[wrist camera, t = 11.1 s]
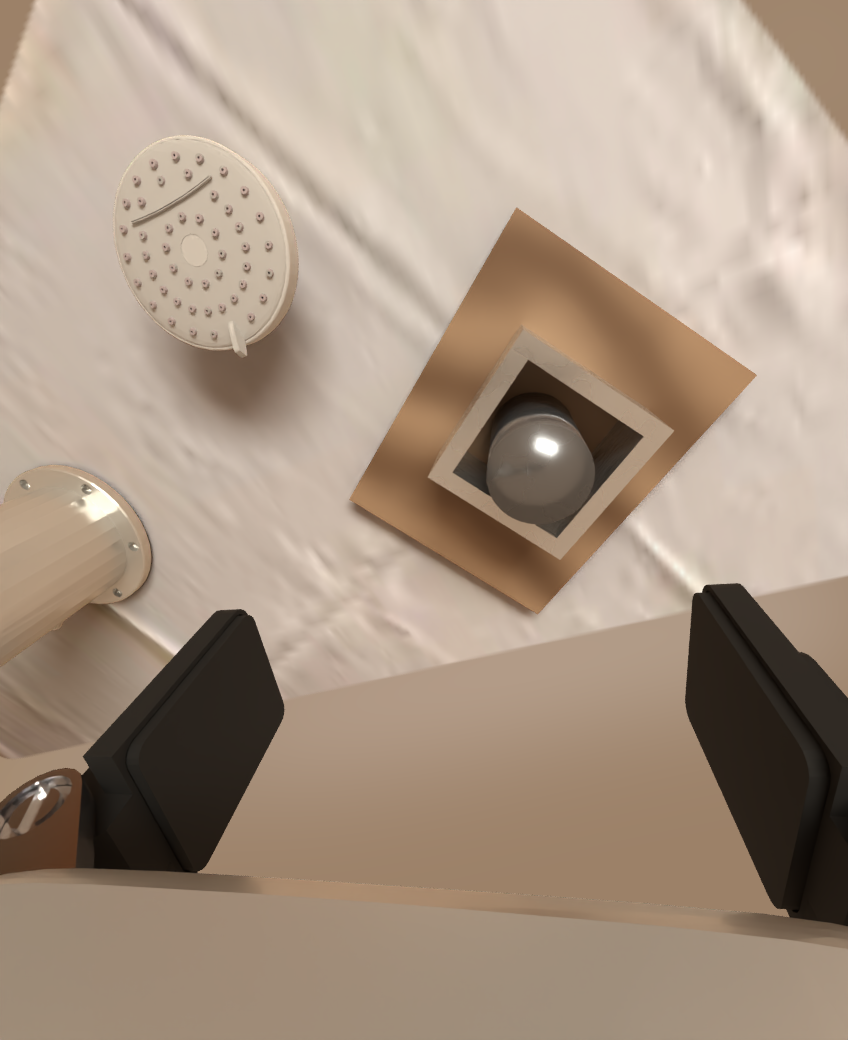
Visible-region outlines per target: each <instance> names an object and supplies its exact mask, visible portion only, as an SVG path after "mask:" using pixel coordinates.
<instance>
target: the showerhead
mask: <svg viewBox="0 0 848 1040" xmlns="http://www.w3.org/2000/svg"><path fill="white" fill-rule="evenodd" d="M113 232H114V242H115V248H116V252H117V256H118V260H119V264H120V267H121V269H122V272H123V274H124V277H125V279H126V281H127V284H128V286H129V288H130V289H131V291H132V293H133V294H134V296H135V298H136V299H137V301H138V302H139V304H140V305H141V306H142V308H143V309H144V310H145V311H146V313H147V314H148V315H149V316H150V317H151V318H152V319H153V320H154V321H155V322H156V323H157V324H158V325H159V326H160V327H161V328H162V329H164V330H165V331H166V332H168V333H169V334H170V335H172V336H173V337H175V338H177V339H179V340H180V341H182V342H184V343H187V344H189V345H191V346H194V347H198V348H201V349H206V350H215V351H223V350H231V349H234V351H235V353H236V354H237V355H239V356H240V357H241V358H243V357H246V356H247V349H246V346H247V345H250V344H253V343H255V342H257V341H259V340H261V339H263V338H264V337H265V336H267V335H268V334H269V333H271V332H272V331H273V330H274V329H275V328H276V327H277V326H278V325H279V324H280V322H281V321H282V320H283V318H284V317H285V315H286V313H287V311H288V310H289V307H290V305H291V303H292V300H293V297H294V294H295V290H296V285H297V279H298V267H299V263H298V249H297V242H296V237H295V233H294V229H293V226H292V223H291V220H290V217H289V214H288V212H287V210H286V208H285V206H284V204H283V202H282V200H281V198H280V197H279V195H278V193H277V192H276V190H275V189H274V187H273V186H272V185H271V183H270V182H269V181H268V180H267V178H266V177H265V176H264V175H263V174H262V173H261V172H260V171H259V170H258V169H257V168H256V167H255V166H253V165H252V164H251V163H250V162H248V161H247V160H246V159H244V158H243V157H241V156H240V155H238V154H236V153H235V152H233V151H231V150H230V149H228V148H226V147H224V146H223V145H221V144H219V143H216V142H214V141H212V140H209V139H205V138H202V137H197V136H187V135H181V136H172V137H168V138H164V139H162V140H159V141H157V142H155V143H153V144H151V145H149V146H148V147H147V148H145V149H144V150H142V151H141V152H140V153H139V154H138V155H137V156H136V157H135V158H134V160H133V161H132V162H131V163H130V165H129V166H128V168H127V170H126V171H125V173H124V175H123V177H122V179H121V182H120V184H119V187H118V190H117V193H116V198H115V204H114V211H113Z"/></svg>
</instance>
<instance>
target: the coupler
mask: <svg viewBox="0 0 848 1040" xmlns="http://www.w3.org/2000/svg"><path fill="white" fill-rule="evenodd" d="M594 479H595V465H594V460H593V457H592V454H591V452H590V450H589V448H588V447H587V445H586V443H585V441H584V439H583V437H582V435H581V433H580V432H579V430H578V428H577V426H576V424H575V422H574V420H573V418H572V417H571V415H570V413H569V411H568V409H567V408H566V407H565V405H564V404H563V403H562V402H561V401H559V400H558V399H557V398H555V397H553V396H551V395H548V394H545V393H539V392H530V393H524V394H521V395H518V396H516V397H514V398H512V399H510V400H509V401H508V402H506V403H505V404H504V405H503V406H502V407H501V408H500V410H499V411H498V413H497V414H496V416H495V418H494V421H493V424H492V430H491V438H490V447H489V456H488V464H487V486H488V490H489V493H490V495H491V497H492V499H493V501H494V502H495V504H496V505H497V506H498V507H499V508H500V509H501V510H502V511H503V512H504V513H505V514H507V515H508V516H510V517H511V518H513V519H515V520H518V521H520V522H524V523H529V524H548V523H553V522H556V521H559V520H562V519H564V518H566V517H568V516H569V515H571V514H573V513H574V512H575V511H576V510H578V509H579V508H580V507H581V506H582V505H583V503H584V502H585V501H586V499H587V498H588V496H589V494H590V492H591V490H592V487H593V484H594Z"/></svg>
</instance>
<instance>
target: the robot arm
mask: <svg viewBox="0 0 848 1040" xmlns="http://www.w3.org/2000/svg"><path fill="white" fill-rule="evenodd" d="M150 567H151V549H150V544H149V540H148V537H147V534H146V531H145V529H144V527H143V525H142V523H141V521H140V519H139V518H138V516H137V515H136V513H135V512H134V510H133V509H132V508H131V506H130V505H129V504H128V503H127V502H126V501H125V500H124V499H123V497H122V496H121V495H120V494H119V493H117V492H116V491H115V490H114V489H113V488H111V487H110V486H109V485H108V484H106V483H105V482H103V481H102V480H100V479H98V478H97V477H95V476H93V475H91V474H89V473H87V472H84V471H82V470H80V469H76V468H72V467H69V466H63V465H47V466H40V467H38V468H35V469H32V470H29V471H26V472H24V473H22V474H21V475H19V476H17V477H16V478H15V479H14V481H13V482H12V483H11V484H10V485H9V487H8V489H7V491H6V494H5V497H4V503H3V504H1V505H0V667H1V666H3V665H4V664H5V663H7V662H8V661H10V660H11V659H12V658H14V657H15V656H16V655H18V654H19V653H21V652H22V651H23V650H25V649H26V648H27V647H29V646H30V645H32V644H33V643H34V642H36V641H37V640H38V639H40V638H41V637H43V636H44V635H45V634H47V633H48V632H49V631H52V630H57V629H60V628H61V626H62V625H63V621H65V620H66V619H67V618H69V617H70V616H71V615H73V614H74V613H76V612H77V611H78V610H80V609H81V608H82V607H84V606H85V605H87V604H88V603H95V604H110V603H115V602H118V601H122V600H124V599H125V598H127V597H129V596H130V595H132V594H133V593H134V592H135V591H137V590H138V589H139V588H140V587H141V586H142V585H143V583H144V582H145V581H146V579H147V577H148V574H149V571H150ZM685 703H686V710H687V714H688V717H689V720H690V722H691V724H692V727H693V729H694V731H695V733H696V736H697V738H698V740H699V742H700V745H701V747H702V749H703V751H704V753H705V756H706V758H707V760H708V762H709V765H710V767H711V769H712V771H713V773H714V776H715V778H716V780H717V783H718V785H719V787H720V789H721V791H722V793H723V796H724V798H725V800H726V802H727V805H728V807H729V809H730V812H731V814H732V816H733V818H734V820H735V823H736V825H737V827H738V829H739V832H740V834H741V836H742V838H743V840H744V843H745V845H746V847H747V849H748V852H749V854H750V856H751V858H752V860H753V863H754V865H755V867H756V870H757V872H758V874H759V876H760V878H761V881H762V883H763V885H764V887H765V889H766V892H767V894H768V896H769V898H770V900H771V902H772V903H773V905H774V906H775V907H776V908H777V909H786V910H787V912H788V914H789V916H790V917H783V916H775V915H768V914H759V913H747V912H737V911H726V910H715V909H703V908H692V907H681V906H670V905H658V904H647V903H635V902H621V901H608V900H607V901H606V900H594V899H580V898H566V897H552V896H538V895H524V894H510V893H496V892H482V891H467V890H452V889H438V888H423V887H407V886H392V885H378V884H362V883H346V882H330V881H316V880H301V879H300V880H299V879H284V878H268V877H251V876H250V877H249V876H233V875H217V874H199V873H197V872H198V871H200V870H202V869H203V868H204V867H205V866H206V865H207V863H208V862H209V860H210V858H211V856H212V854H213V852H214V850H215V848H216V846H217V844H218V843H219V841H220V839H221V837H222V835H223V833H224V831H225V829H226V827H227V825H228V823H229V821H230V819H231V818H232V816H233V814H234V812H235V810H236V808H237V806H238V804H239V802H240V800H241V798H242V796H243V794H244V793H245V791H246V789H247V786H248V785H249V783H250V781H251V779H252V777H253V775H254V773H255V771H256V769H257V768H258V766H259V763H260V762H261V760H262V758H263V756H264V754H265V752H266V750H267V748H268V746H269V745H270V743H271V740H272V739H273V737H274V735H275V733H276V731H277V729H278V727H279V725H280V723H281V721H282V719H283V715H284V704H283V700H282V697H281V694H280V691H279V689H278V686H277V683H276V680H275V677H274V674H273V672H272V669H271V666H270V663H269V660H268V657H267V654H266V652H265V649H264V646H263V643H262V640H261V637H260V635H259V632H258V629H257V626H256V623H255V621H254V619H253V617H252V616H250V615H248V614H247V613H246V612H245V611H244V610H241V609H237V610H220V611H216V612H215V613H214V614H213V615H212V616H211V617H210V618H209V619H208V620H207V621H206V622H205V624H204V625H203V626H202V627H201V628H200V629H199V630H198V631H197V632H196V633H195V634H194V636H193V637H192V638H191V639H190V640H189V641H188V642H187V643H186V644H185V645H184V646H183V648H182V649H181V650H180V651H179V652H178V653H177V654H176V655H175V656H174V657H173V659H172V660H171V661H170V662H169V663H168V664H167V665H166V666H165V667H164V668H163V669H162V671H161V672H160V673H159V674H158V675H157V676H156V677H155V678H154V679H153V680H152V681H151V683H150V684H149V685H148V686H147V687H146V688H145V689H144V690H143V691H142V692H141V693H140V695H139V696H138V697H137V698H136V699H135V700H134V701H133V702H132V703H131V704H130V705H129V707H128V708H127V709H126V710H125V711H124V712H123V713H122V714H121V715H120V716H119V717H118V719H117V720H116V721H115V722H114V723H113V724H112V725H111V726H110V727H109V728H108V729H107V731H106V732H105V733H104V734H103V735H102V736H101V737H100V738H99V739H98V740H97V741H96V743H95V744H94V745H93V746H92V747H91V748H90V749H89V750H88V751H87V752H86V754H85V755H84V756H83V757H84V759H85V761H86V762H87V764H88V766H89V768H88V769H87V771H86V772H85V773H84V774H83V775H81V774H80V773H79V772H78V771H77V770H75V769H70V768H63V769H57V770H52V771H50V772H47V773H45V774H42V775H39V776H37V777H35V778H34V779H32V780H30V781H28V782H26V783H25V784H23V785H22V786H20V787H19V788H17V789H16V790H15V791H13V792H12V793H11V794H9V795H8V796H7V797H6V798H5V799H4V800H3V801H2V802H0V1040H848V698H847V697H846V696H845V694H844V693H843V692H842V691H841V690H840V689H839V688H838V687H837V685H836V684H835V683H834V682H833V681H832V679H831V678H830V677H829V676H828V675H827V674H826V673H825V671H824V670H823V669H822V668H821V667H820V666H819V665H818V664H817V662H816V661H815V660H814V659H812V658H811V657H810V656H809V655H807V654H805V653H802V652H798V651H797V650H796V648H795V647H794V646H793V645H792V644H791V643H790V641H789V640H788V639H787V638H786V637H785V635H784V634H783V633H782V632H781V631H780V629H779V628H778V627H777V626H776V625H775V624H774V622H773V621H772V620H771V619H770V618H769V616H768V615H767V614H766V613H765V612H764V611H763V609H762V608H761V607H760V606H759V605H758V603H757V602H756V601H755V600H754V599H753V598H752V596H751V595H750V594H749V593H748V592H747V590H746V589H745V588H744V587H743V586H742V585H741V584H738V583H735V584H716V585H706V586H704V588H703V591H702V593H695V594H694V596H693V600H692V614H691V628H690V641H689V655H688V669H687V682H686V696H685Z"/></svg>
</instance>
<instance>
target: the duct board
mask: <svg viewBox="0 0 848 1040" xmlns="http://www.w3.org/2000/svg"><path fill="white" fill-rule="evenodd" d="M756 376H757V375H756V374H755V373H753V372H752V371H750V370H749V369H747V368H746V367H745V366H743V365H742V364H740V363H739V362H737V361H736V360H734V359H733V358H732V357H730V356H729V355H727V354H726V353H724V352H723V351H722V350H720V349H719V348H717V347H716V346H714V345H713V344H712V343H710V342H709V341H707V340H706V339H704V338H703V337H702V336H700V335H699V334H697V333H696V332H694V331H693V330H691V329H690V328H689V327H687V326H686V325H684V324H683V323H681V322H680V321H679V320H677V319H676V318H674V317H673V316H671V315H670V314H669V313H667V312H666V311H664V310H663V309H661V308H660V307H659V306H657V305H656V304H654V303H653V302H651V301H650V300H648V299H647V298H646V297H644V296H643V295H641V294H640V293H638V292H637V291H636V290H634V289H633V288H631V287H630V286H628V285H627V284H626V283H624V282H623V281H621V280H620V279H618V278H617V277H616V276H614V275H613V274H611V273H610V272H608V271H607V270H605V269H604V268H603V267H601V266H600V265H598V264H597V263H595V262H594V261H593V260H591V259H590V258H588V257H587V256H585V255H584V254H583V253H581V252H580V251H578V250H577V249H575V248H574V247H573V246H571V245H570V244H568V243H567V242H565V241H564V240H562V239H561V238H560V237H558V236H557V235H555V234H554V233H552V232H551V231H550V230H548V229H547V228H545V227H544V226H542V225H541V224H540V223H538V222H537V221H535V220H534V219H532V218H531V217H530V216H528V215H527V214H525V213H524V212H522V211H521V210H519V209H518V208H517V207H516V209H515V211H514V213H513V214H512V216H511V218H510V220H509V221H508V223H507V225H506V227H505V228H504V230H503V232H502V234H501V235H500V237H499V239H498V241H497V242H496V244H495V246H494V248H493V249H492V251H491V253H490V255H489V256H488V258H487V260H486V262H485V263H484V265H483V267H482V269H481V270H480V272H479V274H478V276H477V277H476V279H475V281H474V283H473V284H472V286H471V288H470V290H469V291H468V293H467V295H466V297H465V298H464V300H463V302H462V304H461V305H460V307H459V309H458V311H457V312H456V314H455V316H454V318H453V319H452V321H451V323H450V325H449V326H448V328H447V330H446V332H445V333H444V335H443V337H442V338H441V340H440V342H439V344H438V345H437V347H436V349H435V351H434V352H433V354H432V356H431V358H430V359H429V361H428V363H427V365H426V366H425V368H424V370H423V372H422V373H421V375H420V377H419V379H418V380H417V382H416V384H415V386H414V387H413V389H412V391H411V393H410V394H409V396H408V398H407V400H406V401H405V403H404V405H403V407H402V408H401V410H400V412H399V414H398V415H397V417H396V419H395V421H394V422H393V424H392V426H391V428H390V429H389V431H388V433H387V435H386V436H385V438H384V440H383V442H382V443H381V445H380V447H379V449H378V450H377V452H376V454H375V456H374V457H373V459H372V461H371V463H370V464H369V466H368V468H367V469H366V471H365V473H364V475H363V476H362V478H361V480H360V482H359V483H358V485H357V487H356V489H355V490H354V492H353V494H352V496H351V497H350V499H349V500H351V501H352V502H354V503H356V504H357V505H359V506H361V507H362V508H364V509H366V510H367V511H369V512H371V513H372V514H374V515H375V516H377V517H379V518H380V519H382V520H384V521H385V522H387V523H389V524H390V525H392V526H394V527H395V528H397V529H398V530H400V531H402V532H403V533H405V534H407V535H408V536H410V537H412V538H413V539H415V540H417V541H418V542H420V543H421V544H423V545H425V546H426V547H428V548H430V549H431V550H433V551H435V552H436V553H438V554H439V555H441V556H443V557H444V558H446V559H448V560H449V561H451V562H453V563H454V564H456V565H458V566H459V567H461V568H462V569H464V570H466V571H467V572H469V573H471V574H472V575H474V576H476V577H477V578H479V579H481V580H482V581H484V582H485V583H487V584H489V585H490V586H492V587H494V588H495V589H497V590H499V591H500V592H502V593H504V594H505V595H507V596H508V597H510V598H512V599H513V600H515V601H517V602H518V603H520V604H522V605H523V606H525V607H526V608H528V609H530V610H531V611H533V612H535V613H536V614H538V613H539V612H540V611H541V610H542V609H543V608H544V607H545V606H546V604H547V603H548V602H549V601H550V600H551V599H552V598H553V597H554V596H555V595H556V594H557V593H558V591H559V590H560V589H561V588H562V587H563V586H564V585H565V584H566V583H567V582H568V581H569V579H570V578H571V577H572V576H573V575H574V574H575V573H576V572H577V571H578V570H579V569H580V567H581V566H582V565H583V564H584V563H585V562H586V561H587V560H588V559H589V558H590V557H591V555H592V554H593V553H594V552H595V551H596V550H597V549H598V548H599V547H600V546H601V545H602V543H603V542H604V541H605V540H606V539H607V538H608V537H609V536H610V535H611V534H612V533H613V531H614V530H615V529H616V528H617V527H618V526H619V525H620V524H621V523H622V522H623V521H624V519H625V518H626V517H627V516H628V515H629V514H630V513H631V512H632V511H633V510H634V509H635V507H636V506H637V505H638V504H639V503H640V502H641V501H642V500H643V499H644V498H645V497H646V496H647V494H648V493H649V492H650V491H651V490H652V489H653V488H654V487H655V486H656V485H657V484H658V482H659V481H660V480H661V479H662V478H663V477H664V476H665V475H666V474H667V473H668V472H669V470H670V469H671V468H672V467H673V466H674V465H675V464H676V463H677V462H678V461H679V460H680V458H681V457H682V456H683V455H684V454H685V453H686V452H687V451H688V450H689V449H690V448H691V446H692V445H693V444H694V443H695V442H696V441H697V440H698V439H699V438H700V437H701V436H702V434H703V433H704V432H705V431H706V430H707V429H708V428H709V427H710V426H711V425H712V424H713V422H714V421H715V420H716V419H717V418H718V417H719V416H720V415H721V414H722V413H723V412H724V410H725V409H726V408H727V407H728V406H729V405H730V404H731V403H732V402H733V401H734V400H735V398H736V397H737V396H738V395H739V394H740V393H741V392H742V391H743V390H744V389H745V388H746V387H747V385H748V384H749V383H750V382H751V381H752V380H753V379H754V378H755V377H756ZM530 392H539V393H545V394H548V395H551V396H553V397H555V398H557V399H558V400H559V401H561V402H562V403H563V404H564V405H565V407H566V408H567V409H568V411H569V413H570V415H571V417H572V418H573V420H574V422H575V424H576V426H577V428H578V430H579V432H580V433H581V435H582V437H583V439H584V441H585V443H586V445H587V447H588V448H589V450H590V452H591V454H592V457H593V460H594V465H595V479H594V484H593V487H592V490H591V492H590V494H589V496H588V498H587V499H586V501H585V502H584V503H583V505H582V506H581V507H580V508H579V509H578V510H576V511H575V512H574V513H573V514H571V515H569V516H568V517H566V518H564V519H562V520H559V521H556V522H553V523H548V524H529V523H524V522H520V521H518V520H515V519H513V518H511V517H510V516H508V515H507V514H505V513H504V512H503V511H502V510H501V509H500V508H499V507H498V506H497V505H496V504H495V502H494V501H493V499H492V497H491V495H490V493H489V490H488V486H487V464H488V456H489V447H490V438H491V430H492V424H493V421H494V418H495V416H496V414H497V413H498V411H499V410H500V408H501V407H502V406H503V405H504V404H505V403H506V402H508V401H509V400H510V399H512V398H514V397H516V396H518V395H521V394H524V393H530Z"/></svg>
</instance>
